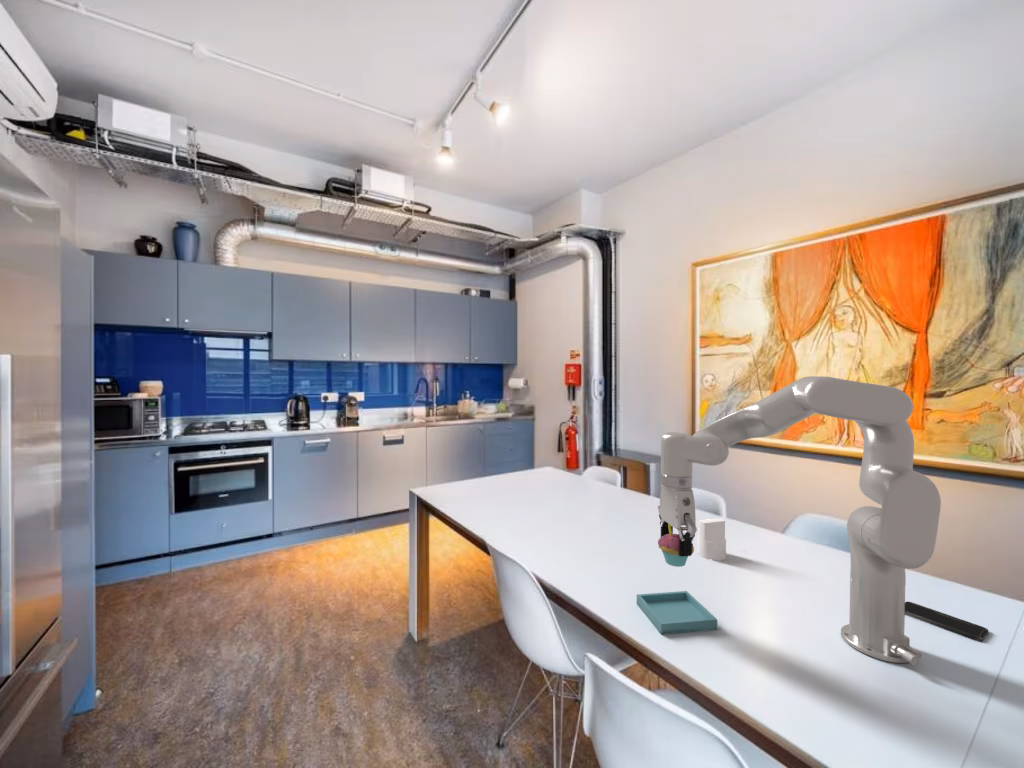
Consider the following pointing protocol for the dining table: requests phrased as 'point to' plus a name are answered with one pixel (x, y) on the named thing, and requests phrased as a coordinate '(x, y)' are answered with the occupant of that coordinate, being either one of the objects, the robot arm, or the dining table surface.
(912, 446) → the robot arm
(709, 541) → the base with upright slab
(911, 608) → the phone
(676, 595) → the tray
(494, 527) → the dining table surface
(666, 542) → the cupcake
